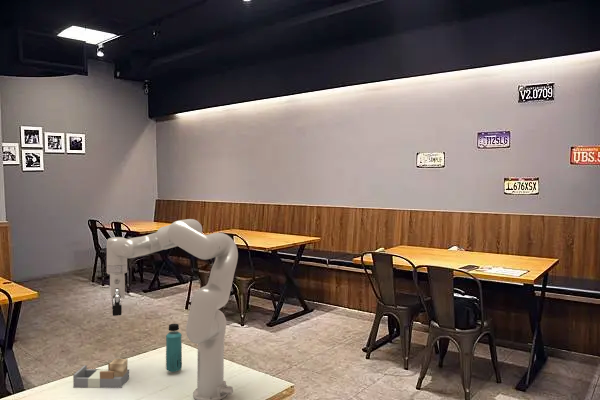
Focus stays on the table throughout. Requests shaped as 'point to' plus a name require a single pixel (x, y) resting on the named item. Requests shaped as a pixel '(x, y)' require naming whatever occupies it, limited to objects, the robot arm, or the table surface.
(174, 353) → the beverage bottle
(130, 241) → the robot arm
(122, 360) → the maple block
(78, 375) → the grey open boxy piece
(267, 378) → the table surface
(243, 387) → the table surface
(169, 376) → the table surface
